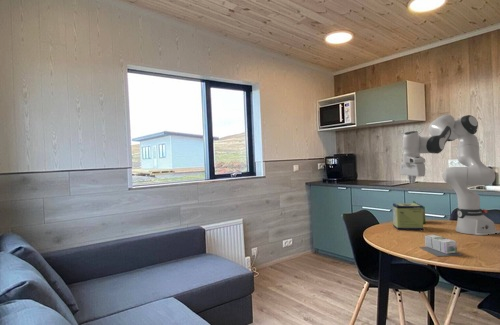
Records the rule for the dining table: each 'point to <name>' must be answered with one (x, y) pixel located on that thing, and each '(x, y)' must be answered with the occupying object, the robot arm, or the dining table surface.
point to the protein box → (408, 216)
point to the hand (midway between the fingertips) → (412, 183)
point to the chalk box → (423, 213)
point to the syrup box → (441, 244)
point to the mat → (439, 252)
